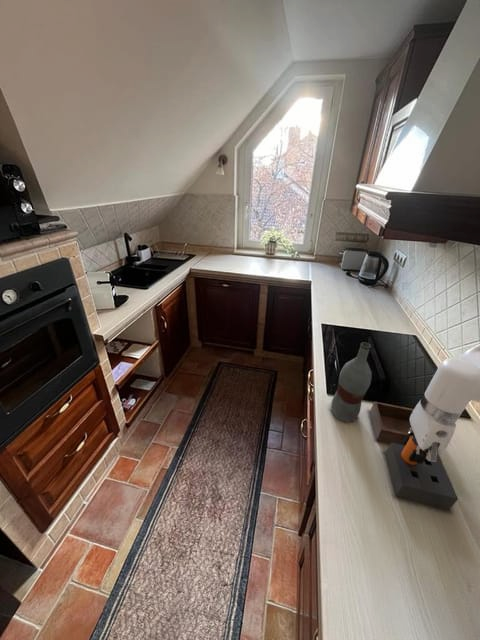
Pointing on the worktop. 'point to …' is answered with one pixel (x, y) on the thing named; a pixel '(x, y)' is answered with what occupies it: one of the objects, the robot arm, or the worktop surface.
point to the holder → (420, 480)
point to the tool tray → (390, 422)
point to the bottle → (352, 386)
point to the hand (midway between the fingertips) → (412, 452)
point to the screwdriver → (410, 449)
